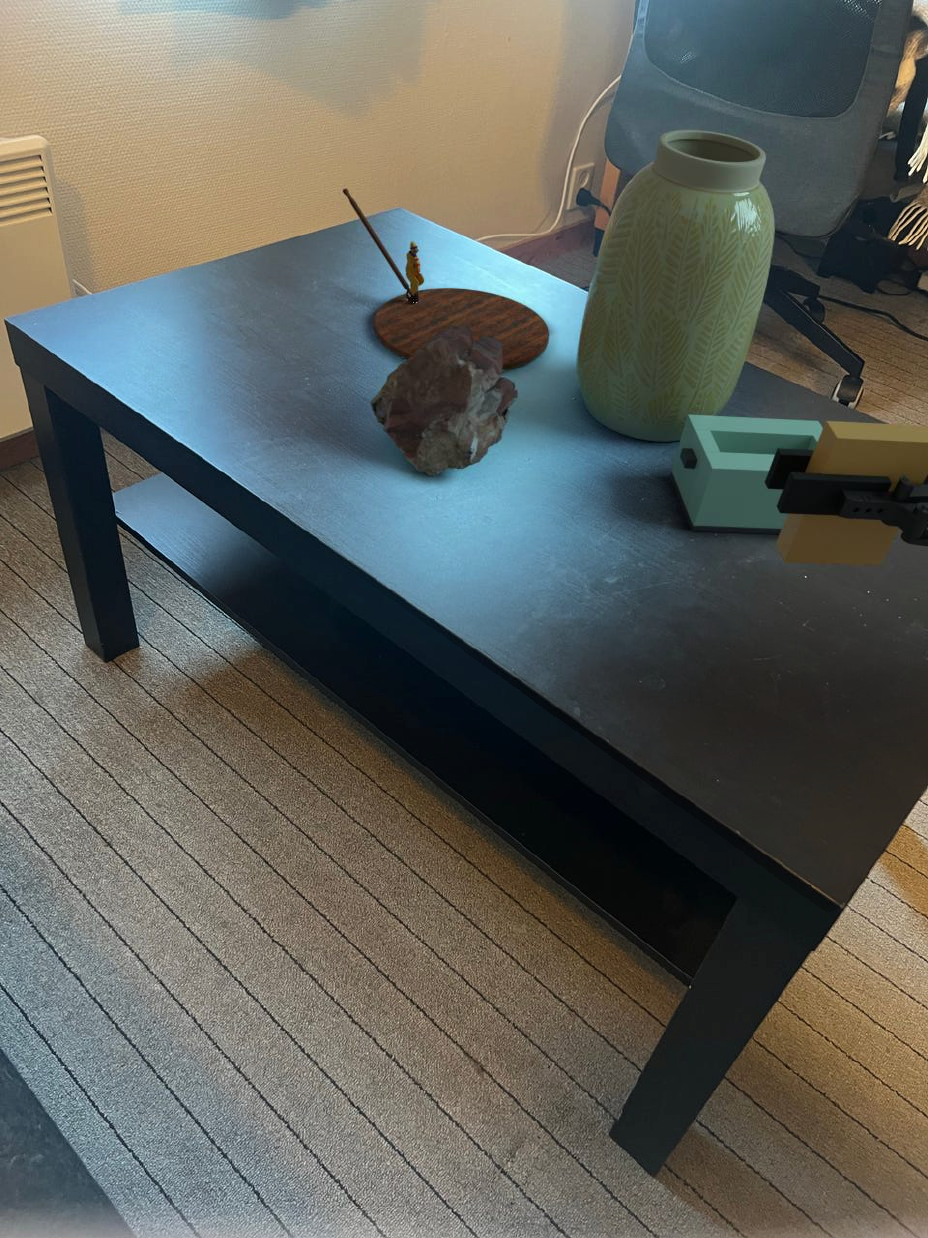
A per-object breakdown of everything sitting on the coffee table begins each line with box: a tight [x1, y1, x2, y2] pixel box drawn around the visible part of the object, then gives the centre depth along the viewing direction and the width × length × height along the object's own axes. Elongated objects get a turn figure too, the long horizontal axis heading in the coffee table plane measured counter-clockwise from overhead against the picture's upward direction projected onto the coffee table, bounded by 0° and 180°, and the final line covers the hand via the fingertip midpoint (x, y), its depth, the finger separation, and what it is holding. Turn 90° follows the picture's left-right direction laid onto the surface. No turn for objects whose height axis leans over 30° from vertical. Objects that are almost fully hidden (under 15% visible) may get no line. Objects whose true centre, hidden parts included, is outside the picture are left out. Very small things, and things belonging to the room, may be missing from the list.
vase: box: [575, 129, 776, 443], centre depth 93 cm, size 17×17×27 cm
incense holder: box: [342, 188, 550, 371], centre depth 110 cm, size 21×30×11 cm
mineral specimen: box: [369, 325, 519, 477], centre depth 90 cm, size 12×13×15 cm
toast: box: [775, 420, 928, 566], centre depth 61 cm, size 7×2×10 cm, turn 93°
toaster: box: [669, 414, 823, 535], centre depth 88 cm, size 14×9×7 cm, turn 93°
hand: (779, 480), depth 60 cm, fingers closed on toast, 2 cm apart
